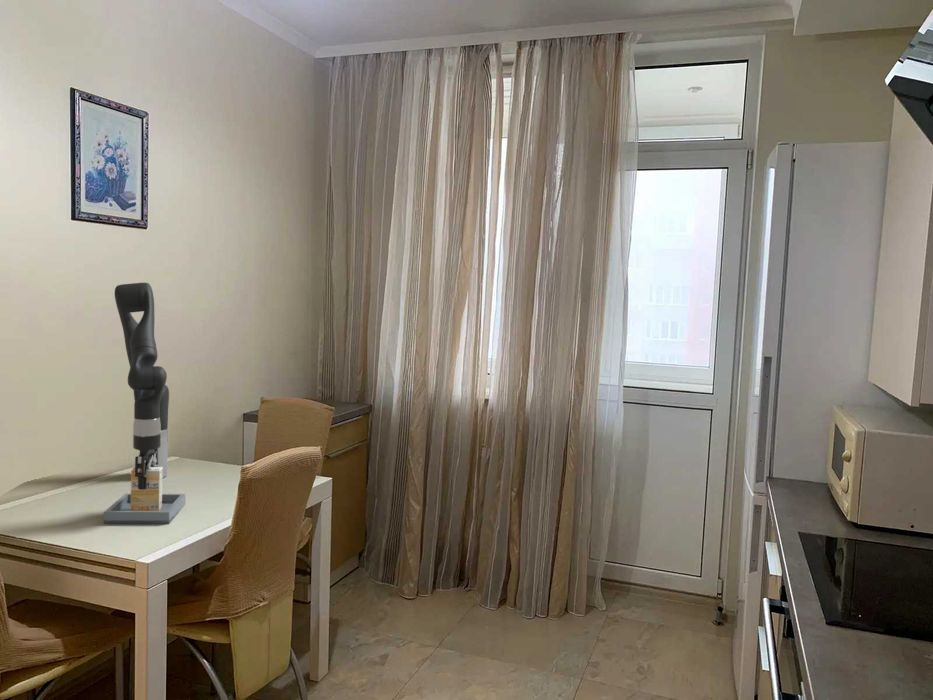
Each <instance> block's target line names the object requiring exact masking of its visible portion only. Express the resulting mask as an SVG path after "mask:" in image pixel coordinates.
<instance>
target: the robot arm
mask: <svg viewBox="0 0 933 700" xmlns="http://www.w3.org/2000/svg"><path fill="white" fill-rule="evenodd" d="M114 300H115V301H114V302H115V305H116V308H117V312H118V316H119V319H120V322H121V327H122V330H123V337H124V343H125V350H126V354H127V360H128V363H129V367H130V368H129V371H128V375H127V384H128V386H129V388H130V389H132V390H133V396H134V397H133V398H134V399H133V400H134V403H133V406H134V408H133V409H134V410H133V411H134V414H133V416H134V417H133V418H134V419H133V424H132V425H133V428H132V430H133V431H132V432H133V433H132V434H133V436H132V439H133V440H132V442H133V443H132V444H133V446H132V447H133V449H134V450H136V451H139V452H138V453H139V454H138V456H135V458H134V459H135V460H134V467H135V477H138V489H139V490H145V489H146V488H147V477H146V476H147V472H148V470H150V467H163V474H162V479H163V478H165V477H167V476H168V428H169V427H168V421H169V404H170V392H169V390H170V389H169V387H168V386H167V385H166V382H167V377H168V376H167V372H166V370H165V368H164V367H162V366H159V365H156V362H157V360H158V349H157V344H156V340H155V339H156V338H155V298H154V292H153V288H152V286H151V285H150V283H148V282H132V283H125V284H119V285H117V286H115V288H114ZM140 312H143V315H142V317H141V318H140V321H139V322H138V321H136V319H135V318H134V317H133V315H132V314H133V313H140ZM154 365H155V366H154ZM141 470H142V473H140V472H141Z"/></svg>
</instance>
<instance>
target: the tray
mask: <svg viewBox="0 0 933 700" xmlns="http://www.w3.org/2000/svg"><path fill="white" fill-rule="evenodd" d="M185 505H186V493H162V508H161V509H160V511H131V492H130V493H129V492H128V493H124V494H123V495H122V496H121V497H120V498H118V499H117V500H116V501H115V502H114V503H112V504H111V506H109V507H108V508H107V509H105V511H103V524H104V525H165V524H166V525H170V524H171V523H172V521H173V520H174V519H175V517H176V516H177V515H178V514H179V513H180V511H181V510H183V508H184V507H185Z"/></svg>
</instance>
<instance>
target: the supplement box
mask: <svg viewBox="0 0 933 700" xmlns="http://www.w3.org/2000/svg"><path fill="white" fill-rule="evenodd" d="M140 473H142V470H141V472H140ZM130 474H131V475H130V493H131V511H160V509H161V508H162V494H163V478H162V474H163V467H150V470H148V472H147V476H146V477H147V488H146V489H145V490H139V489H138V477H135V466H134V467H133V468H132V469H131V471H130Z"/></svg>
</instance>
